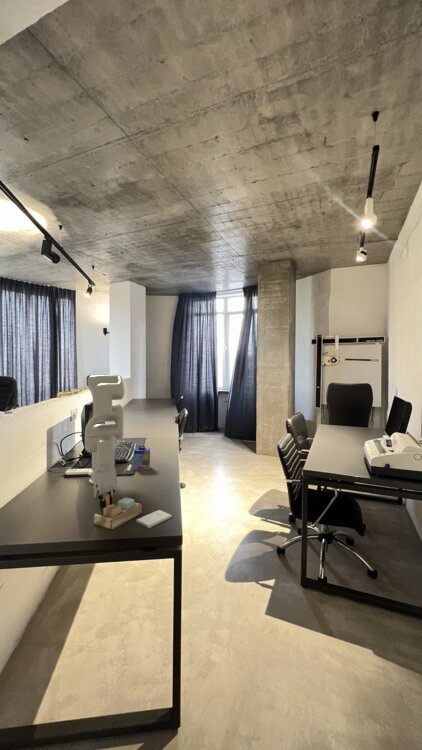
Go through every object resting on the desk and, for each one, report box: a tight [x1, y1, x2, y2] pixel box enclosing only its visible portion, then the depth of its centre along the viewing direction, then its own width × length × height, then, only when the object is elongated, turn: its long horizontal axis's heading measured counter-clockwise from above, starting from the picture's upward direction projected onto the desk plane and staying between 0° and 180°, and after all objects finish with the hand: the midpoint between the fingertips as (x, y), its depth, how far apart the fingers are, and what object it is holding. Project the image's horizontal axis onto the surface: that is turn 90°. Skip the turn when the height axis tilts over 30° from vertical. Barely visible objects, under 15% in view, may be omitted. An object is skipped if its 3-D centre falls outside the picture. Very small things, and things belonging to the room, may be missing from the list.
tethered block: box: [105, 493, 136, 511], centre depth 146 cm, size 16×5×6 cm, turn 61°
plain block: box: [102, 503, 121, 519], centre depth 136 cm, size 5×5×6 cm
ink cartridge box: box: [133, 445, 151, 471], centre depth 205 cm, size 10×6×14 cm, turn 104°
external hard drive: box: [135, 509, 173, 529], centre depth 138 cm, size 2×8×12 cm
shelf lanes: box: [93, 502, 143, 530], centre depth 140 cm, size 10×17×4 cm, turn 151°
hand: (106, 506), depth 149 cm, fingers closed on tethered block, 3 cm apart
